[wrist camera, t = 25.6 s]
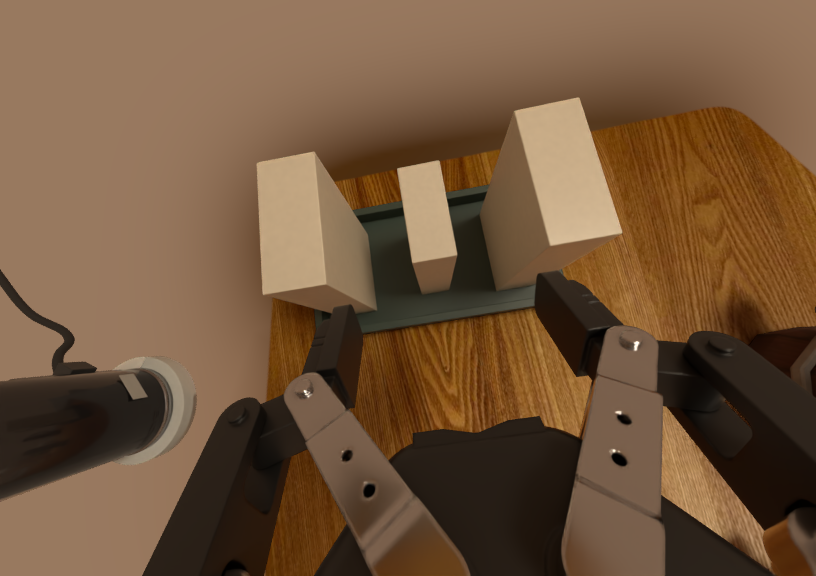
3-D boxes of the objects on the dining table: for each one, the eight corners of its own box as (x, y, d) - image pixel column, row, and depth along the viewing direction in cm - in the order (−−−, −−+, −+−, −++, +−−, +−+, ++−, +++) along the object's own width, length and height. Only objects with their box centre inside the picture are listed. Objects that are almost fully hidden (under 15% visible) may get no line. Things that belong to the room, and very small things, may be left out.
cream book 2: (496, 291, 31) (550, 246, 16) (479, 214, 33) (513, 110, 18) (534, 285, 31) (623, 233, 16) (514, 207, 32) (579, 96, 18)
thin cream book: (422, 294, 32) (411, 263, 19) (412, 235, 33) (396, 168, 20) (449, 290, 31) (457, 255, 19) (438, 230, 33) (439, 159, 20)
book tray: (326, 340, 32) (316, 340, 30) (315, 227, 35) (306, 218, 32) (559, 303, 31) (570, 300, 28) (529, 188, 33) (537, 175, 31)
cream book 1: (342, 316, 32) (262, 295, 17) (334, 240, 34) (256, 162, 19) (377, 310, 32) (326, 284, 17) (367, 234, 34) (314, 150, 19)
